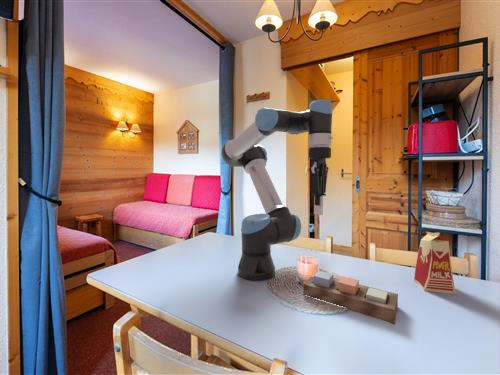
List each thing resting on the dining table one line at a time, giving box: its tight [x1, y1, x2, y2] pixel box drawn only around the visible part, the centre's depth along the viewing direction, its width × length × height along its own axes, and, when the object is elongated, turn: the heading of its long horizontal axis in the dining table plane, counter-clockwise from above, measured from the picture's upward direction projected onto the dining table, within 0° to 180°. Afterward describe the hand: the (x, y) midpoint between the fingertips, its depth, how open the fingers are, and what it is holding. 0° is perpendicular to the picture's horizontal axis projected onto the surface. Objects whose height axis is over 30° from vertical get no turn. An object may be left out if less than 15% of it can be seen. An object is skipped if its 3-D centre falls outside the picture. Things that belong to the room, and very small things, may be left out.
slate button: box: [313, 270, 334, 288], centre depth 80 cm, size 5×5×4 cm
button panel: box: [302, 276, 399, 325], centre depth 76 cm, size 26×10×4 cm, turn 54°
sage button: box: [366, 286, 389, 304], centre depth 71 cm, size 5×5×4 cm
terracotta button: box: [338, 275, 360, 296], centre depth 75 cm, size 5×5×4 cm
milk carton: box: [413, 231, 457, 295], centre depth 84 cm, size 9×9×20 cm
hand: (318, 214), depth 85 cm, fingers closed
